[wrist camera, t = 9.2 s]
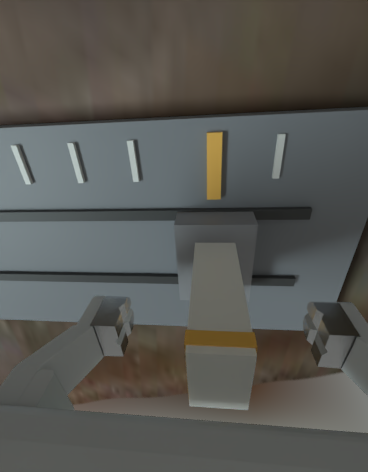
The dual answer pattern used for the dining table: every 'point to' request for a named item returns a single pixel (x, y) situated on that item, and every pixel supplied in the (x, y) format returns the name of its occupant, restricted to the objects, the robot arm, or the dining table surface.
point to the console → (178, 209)
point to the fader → (217, 305)
